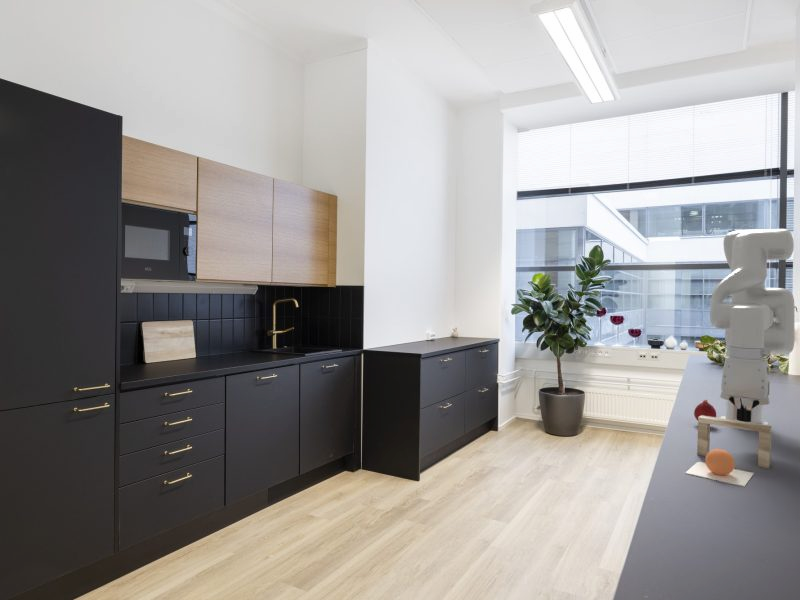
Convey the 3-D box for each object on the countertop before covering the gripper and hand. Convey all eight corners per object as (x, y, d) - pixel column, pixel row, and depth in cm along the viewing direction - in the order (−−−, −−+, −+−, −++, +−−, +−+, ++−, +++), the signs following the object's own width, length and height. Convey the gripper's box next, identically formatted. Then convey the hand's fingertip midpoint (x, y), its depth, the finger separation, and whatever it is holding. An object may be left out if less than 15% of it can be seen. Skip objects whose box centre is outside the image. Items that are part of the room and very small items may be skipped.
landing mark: (697, 462, 124) (697, 461, 124) (753, 473, 117) (753, 473, 117) (685, 473, 116) (685, 472, 116) (744, 486, 109) (744, 485, 109)
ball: (702, 474, 116) (707, 469, 120) (731, 480, 112) (736, 475, 116) (703, 448, 116) (708, 444, 120) (732, 454, 112) (737, 450, 116)
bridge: (700, 451, 133) (701, 415, 133) (770, 465, 123) (771, 425, 123) (697, 454, 131) (698, 417, 130) (768, 468, 121) (769, 428, 121)
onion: (719, 429, 157) (719, 402, 157) (697, 427, 158) (698, 400, 158) (711, 424, 162) (712, 398, 162) (691, 423, 163) (691, 397, 163)
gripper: (783, 354, 134) (780, 426, 135) (716, 348, 144) (714, 415, 145) (779, 358, 129) (776, 433, 130) (709, 352, 139) (707, 421, 140)
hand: (743, 423), depth 138 cm, fingers closed
